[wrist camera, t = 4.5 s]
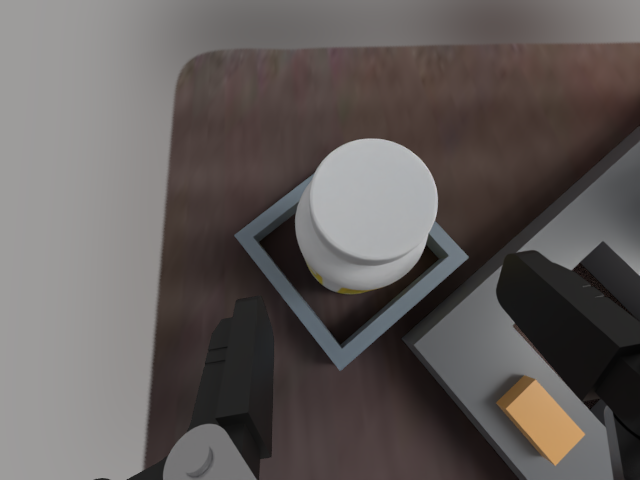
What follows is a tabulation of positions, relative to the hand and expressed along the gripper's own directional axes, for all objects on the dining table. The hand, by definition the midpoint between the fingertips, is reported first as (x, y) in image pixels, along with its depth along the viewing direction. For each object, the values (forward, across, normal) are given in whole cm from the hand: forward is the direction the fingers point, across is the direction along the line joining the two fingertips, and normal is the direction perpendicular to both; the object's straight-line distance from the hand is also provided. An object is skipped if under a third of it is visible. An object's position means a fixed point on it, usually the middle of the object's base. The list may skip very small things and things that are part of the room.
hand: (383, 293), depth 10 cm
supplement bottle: (+8, 0, +4) cm, 9 cm away
